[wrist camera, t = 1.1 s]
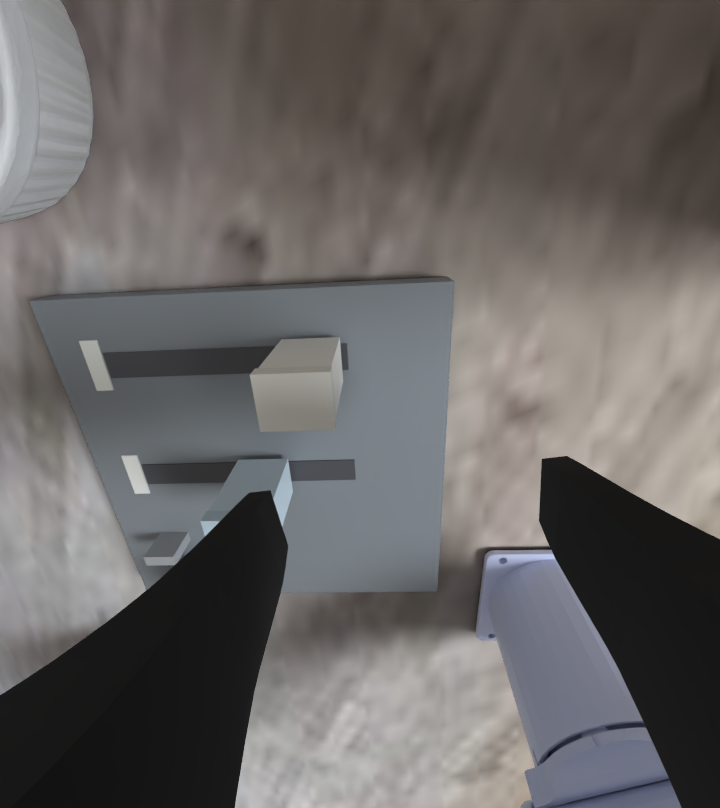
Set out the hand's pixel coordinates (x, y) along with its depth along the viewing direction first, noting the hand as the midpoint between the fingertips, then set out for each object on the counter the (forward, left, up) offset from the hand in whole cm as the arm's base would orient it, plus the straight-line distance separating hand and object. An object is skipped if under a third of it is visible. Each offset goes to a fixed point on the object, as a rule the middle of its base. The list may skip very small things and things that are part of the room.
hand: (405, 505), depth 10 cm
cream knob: (+3, -2, -8) cm, 8 cm away
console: (+6, +4, -10) cm, 12 cm away
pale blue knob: (+6, +4, -8) cm, 11 cm away
